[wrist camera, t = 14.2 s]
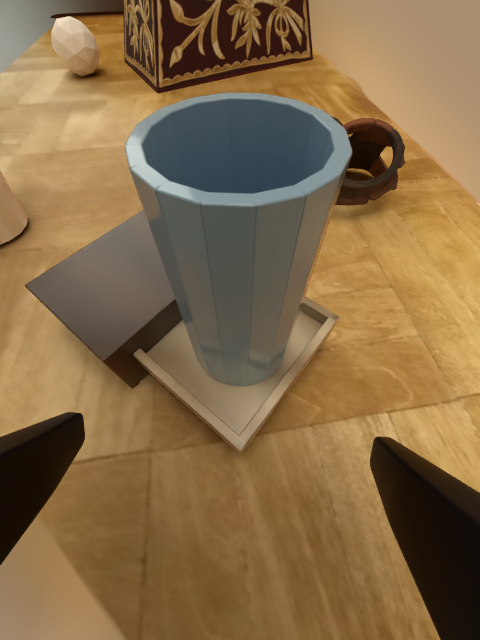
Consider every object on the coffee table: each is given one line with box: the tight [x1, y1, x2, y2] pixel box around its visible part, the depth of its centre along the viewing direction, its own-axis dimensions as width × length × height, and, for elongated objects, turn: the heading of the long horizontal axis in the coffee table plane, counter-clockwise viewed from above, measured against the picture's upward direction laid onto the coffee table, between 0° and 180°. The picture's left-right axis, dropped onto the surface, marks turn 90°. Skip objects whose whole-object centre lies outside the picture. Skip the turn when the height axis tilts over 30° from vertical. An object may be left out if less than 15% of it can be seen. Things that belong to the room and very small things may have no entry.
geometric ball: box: [51, 16, 100, 76], centre depth 50 cm, size 8×8×8 cm
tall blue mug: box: [125, 93, 352, 386], centre depth 14 cm, size 9×6×13 cm
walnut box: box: [25, 210, 339, 455], centre depth 20 cm, size 14×18×5 cm
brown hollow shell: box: [331, 116, 405, 205], centre depth 30 cm, size 12×10×8 cm
